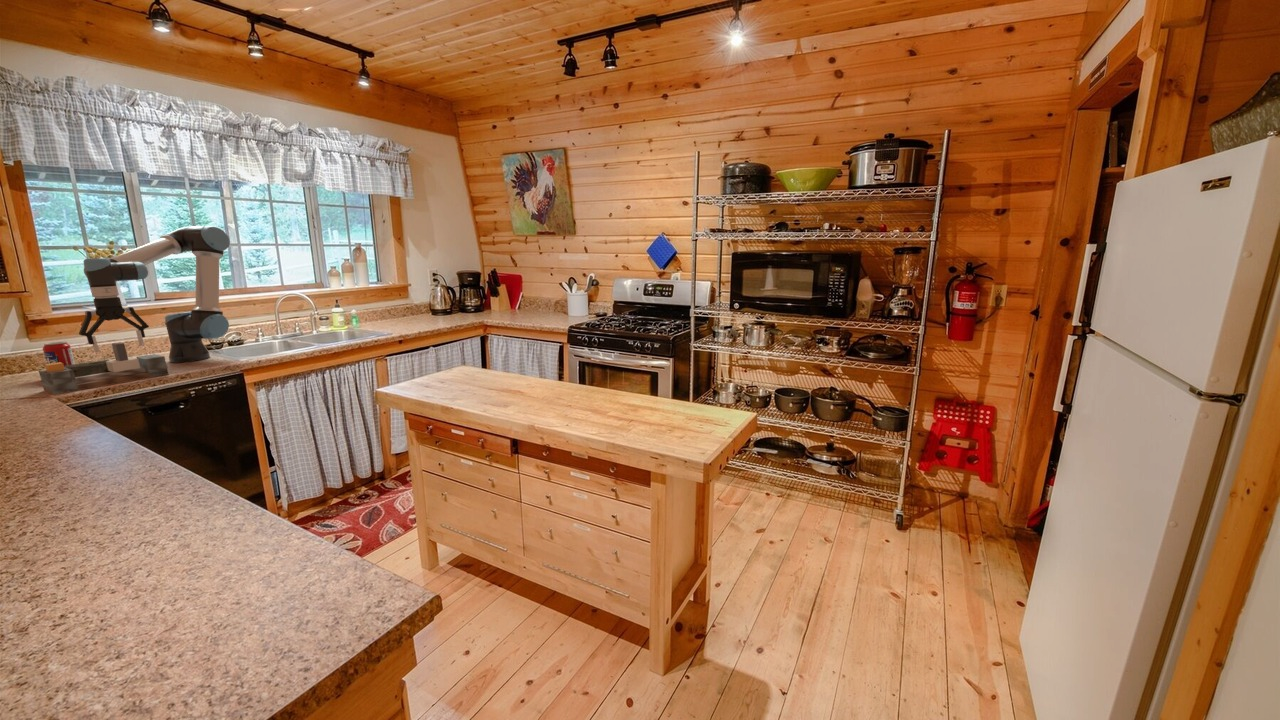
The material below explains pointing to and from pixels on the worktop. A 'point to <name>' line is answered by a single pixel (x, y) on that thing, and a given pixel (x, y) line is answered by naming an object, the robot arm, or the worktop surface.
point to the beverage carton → (89, 368)
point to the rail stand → (102, 376)
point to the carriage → (121, 359)
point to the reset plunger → (54, 367)
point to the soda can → (58, 353)
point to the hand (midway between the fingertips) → (120, 348)
